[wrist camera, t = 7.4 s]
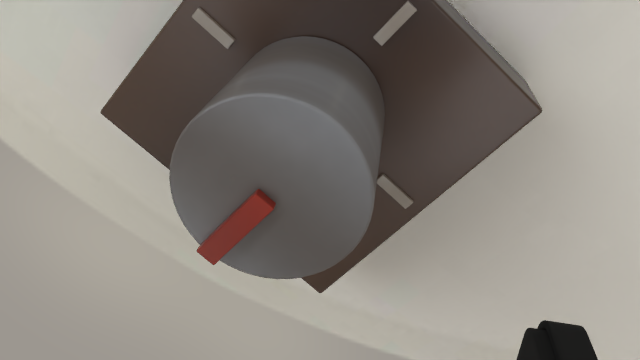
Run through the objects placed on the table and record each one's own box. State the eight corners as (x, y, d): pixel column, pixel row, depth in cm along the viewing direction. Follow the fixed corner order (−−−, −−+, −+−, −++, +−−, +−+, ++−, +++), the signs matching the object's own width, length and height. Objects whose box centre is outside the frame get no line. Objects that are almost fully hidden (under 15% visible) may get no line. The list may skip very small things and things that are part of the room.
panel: (526, 81, 20) (545, 113, 17) (330, 250, 24) (319, 297, 21) (309, -140, 18) (290, -146, 15) (136, 86, 22) (96, 114, 19)
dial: (302, 0, 17) (252, 49, 12) (417, 113, 18) (419, 205, 13) (203, 111, 19) (124, 195, 14) (312, 208, 20) (277, 319, 15)
